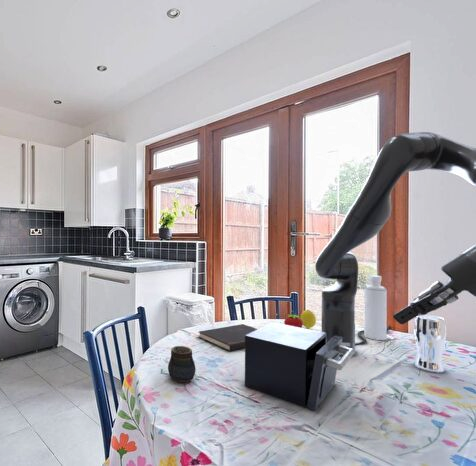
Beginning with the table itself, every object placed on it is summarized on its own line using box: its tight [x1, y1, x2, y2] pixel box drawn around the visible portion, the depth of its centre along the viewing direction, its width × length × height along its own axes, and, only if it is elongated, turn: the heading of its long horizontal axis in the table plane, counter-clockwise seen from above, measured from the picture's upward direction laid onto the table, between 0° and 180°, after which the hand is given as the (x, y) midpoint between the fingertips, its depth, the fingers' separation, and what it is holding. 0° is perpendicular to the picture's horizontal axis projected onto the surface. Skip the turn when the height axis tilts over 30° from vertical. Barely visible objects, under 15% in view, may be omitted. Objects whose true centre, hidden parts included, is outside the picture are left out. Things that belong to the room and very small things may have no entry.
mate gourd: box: [167, 345, 197, 384], centre depth 84 cm, size 7×8×10 cm
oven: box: [244, 321, 326, 409], centre depth 82 cm, size 14×18×13 cm
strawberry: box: [283, 312, 303, 328], centre depth 120 cm, size 6×8×10 cm
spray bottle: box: [363, 275, 388, 341], centre depth 120 cm, size 7×7×25 cm
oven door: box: [306, 335, 356, 411], centre depth 74 cm, size 5×18×13 cm, turn 135°
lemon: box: [299, 309, 317, 329], centre depth 130 cm, size 6×6×8 cm
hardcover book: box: [197, 323, 258, 352], centre depth 116 cm, size 16×23×2 cm
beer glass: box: [412, 314, 447, 374], centre depth 92 cm, size 7×7×15 cm
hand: (397, 320), depth 66 cm, fingers closed
